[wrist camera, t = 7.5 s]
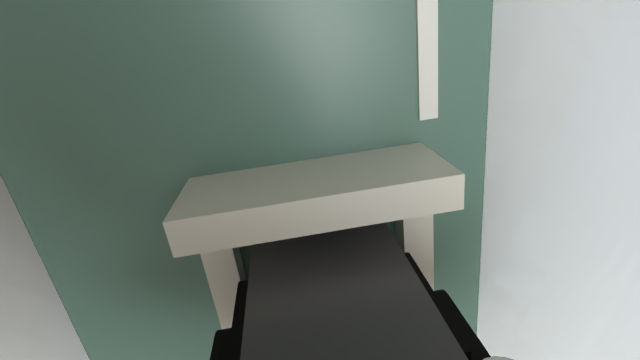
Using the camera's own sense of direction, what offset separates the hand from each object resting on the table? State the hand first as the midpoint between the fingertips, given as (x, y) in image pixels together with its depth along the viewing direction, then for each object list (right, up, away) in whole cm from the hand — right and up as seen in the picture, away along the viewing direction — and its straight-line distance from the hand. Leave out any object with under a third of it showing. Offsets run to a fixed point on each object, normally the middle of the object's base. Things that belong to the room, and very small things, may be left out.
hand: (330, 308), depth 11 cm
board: (-2, +6, +1) cm, 6 cm away
